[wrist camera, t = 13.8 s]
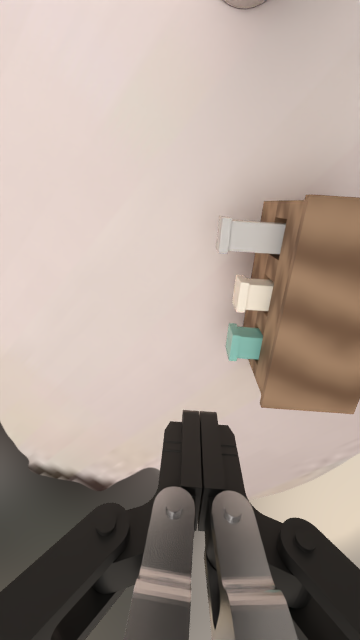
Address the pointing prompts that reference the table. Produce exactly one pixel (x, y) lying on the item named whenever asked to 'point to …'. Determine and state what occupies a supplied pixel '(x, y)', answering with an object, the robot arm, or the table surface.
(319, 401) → the console
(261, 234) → the grey key
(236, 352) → the teal key
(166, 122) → the table surface
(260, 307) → the ivory key
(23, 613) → the robot arm
